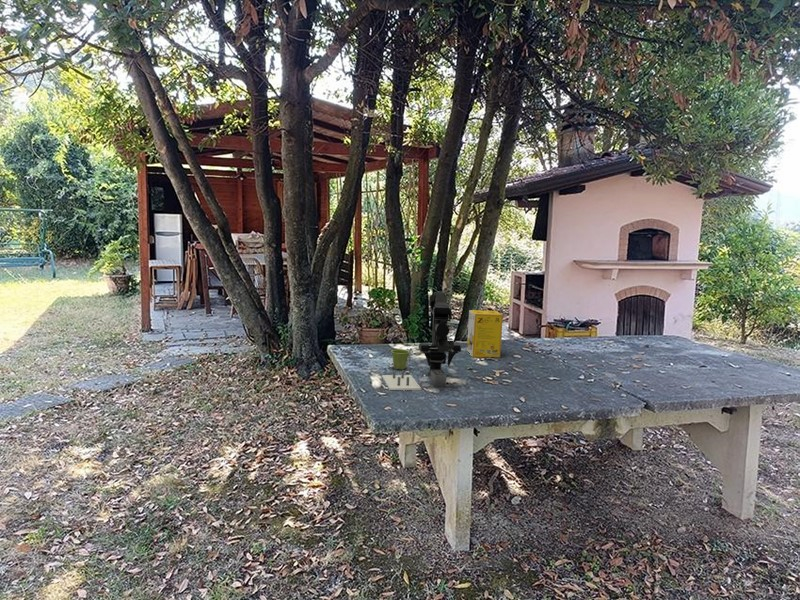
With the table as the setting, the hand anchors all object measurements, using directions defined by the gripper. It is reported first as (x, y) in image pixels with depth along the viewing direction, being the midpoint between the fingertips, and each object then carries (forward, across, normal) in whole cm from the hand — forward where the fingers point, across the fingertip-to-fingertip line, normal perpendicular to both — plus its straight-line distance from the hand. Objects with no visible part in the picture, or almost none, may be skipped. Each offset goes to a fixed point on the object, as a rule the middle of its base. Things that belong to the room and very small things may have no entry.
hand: (438, 366), depth 242 cm
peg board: (+9, -17, +2) cm, 19 cm away
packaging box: (+9, +44, +61) cm, 76 cm away
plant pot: (+9, -12, +30) cm, 33 cm away
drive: (+9, 0, 0) cm, 9 cm away
